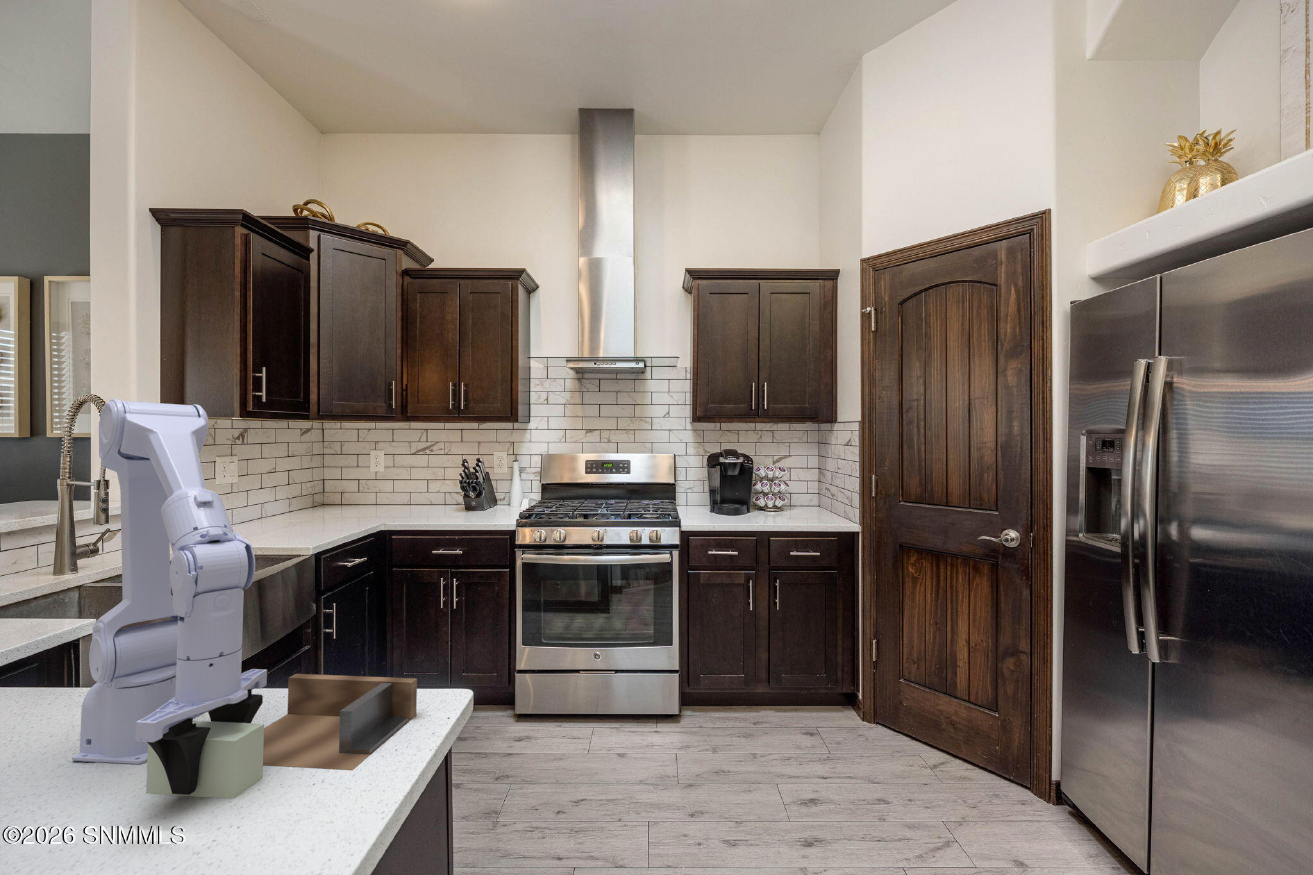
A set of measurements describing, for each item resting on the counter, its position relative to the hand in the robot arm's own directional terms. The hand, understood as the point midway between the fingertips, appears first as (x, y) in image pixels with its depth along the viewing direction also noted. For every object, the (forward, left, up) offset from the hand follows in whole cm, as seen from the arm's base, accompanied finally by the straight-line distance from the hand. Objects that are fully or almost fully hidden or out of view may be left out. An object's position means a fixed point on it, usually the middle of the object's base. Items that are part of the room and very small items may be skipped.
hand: (205, 778), depth 63 cm
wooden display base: (+5, +11, -2) cm, 12 cm away
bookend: (+12, +13, -1) cm, 17 cm away
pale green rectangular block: (0, 0, -2) cm, 2 cm away
